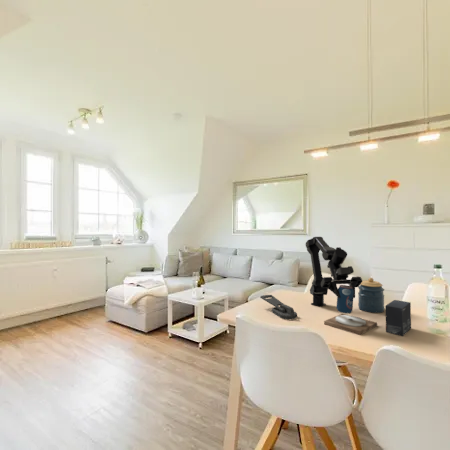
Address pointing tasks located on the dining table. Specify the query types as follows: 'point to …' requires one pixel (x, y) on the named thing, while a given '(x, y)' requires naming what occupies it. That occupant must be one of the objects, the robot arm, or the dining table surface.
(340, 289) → the soda can
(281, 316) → the zipper pull
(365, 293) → the canister
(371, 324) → the rosette board
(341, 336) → the dining table surface
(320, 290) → the robot arm
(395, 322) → the small box
